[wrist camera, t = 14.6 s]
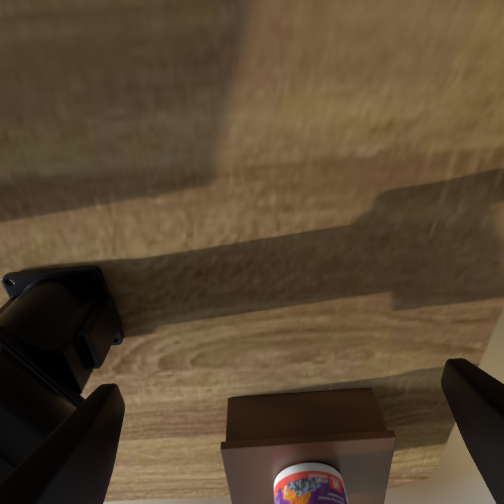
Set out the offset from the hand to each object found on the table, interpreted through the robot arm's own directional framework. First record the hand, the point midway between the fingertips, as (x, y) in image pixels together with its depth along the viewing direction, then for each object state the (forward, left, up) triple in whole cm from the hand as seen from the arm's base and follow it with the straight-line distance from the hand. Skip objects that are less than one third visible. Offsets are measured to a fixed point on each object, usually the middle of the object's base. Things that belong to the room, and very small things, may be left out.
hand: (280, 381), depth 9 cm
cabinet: (+2, -21, -13) cm, 25 cm away
